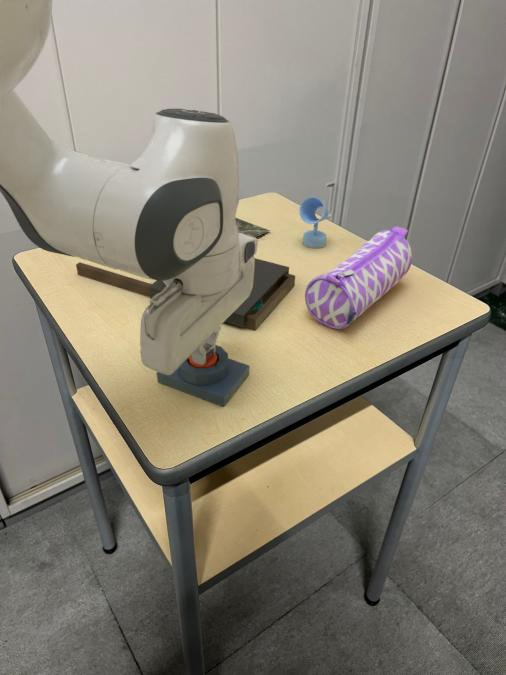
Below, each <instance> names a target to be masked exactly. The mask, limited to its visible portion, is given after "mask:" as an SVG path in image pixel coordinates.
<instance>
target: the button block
mask: <svg viewBox="0 0 506 675" xmlns="http://www.w3.org/2000/svg"><path fill="white" fill-rule="evenodd" d="M215 353H216V355H217V364H216V365H215V366H212V367H210V368H206V369H198V368H195V367H192V366H190V364H189V358H188V359H187V360H186V361H185V362H184V363H183V364H182V365H181V366H180V367H179V368H178V369H177V370H176V371H175V372H174V373H173V374H171V375H166V374H162V373H159V372H156V378H157V380H156V381H157V383H159V384H162V385H165V386H167V387H170V388H173V389H175V390H178V391H181V392H183V393H186V394H188V395H191V396H194V397H197V398H199V399H201V400H204V401H207V402H209V403H212V404H215V405H217V406H219V407H222V408H224V407H225V406H226V405H227V404H228V402H229V401H230V400H231V399H232V397H233V396H234V395H235V394H236V393H237V391H238V390H239V389H240V387H241V386H242V385H243V384H244V382H245V381H246V380H247V378H249V376H250V365H249V364H246V363H243V362H240V361H237V360H234V359H231V358H229V353H228V352H227V351H226V350H225V349H224V348H223V347H222V346H221V345H217V344H216V352H215Z"/></svg>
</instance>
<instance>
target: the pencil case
mask: <svg viewBox="0 0 506 675" xmlns="http://www.w3.org/2000/svg"><path fill="white" fill-rule="evenodd" d="M408 233H409V230H408V229H406V228H403V227H400V226H398V225H397V226H396V225H395V226H393V227H392V229H391V230H390V229H383V230H380V231H378V232H377V233H375V234H374V235H373V236H372V237H371V239H369V240H368V241H367V242H365V243H364V244H362V245H361V246H360V247H359V248H358V249H357V250H356V251H355V252H353V254H352V255H351V256H349V257H347V259H345V260H344V261H342V262H340V263H338V264H337V265H336V266H335V267H334V268H333V269H331V270H330V271H328V272H327V273H325V274H320V275H317V276H315V277H313V278H311V280H310V281H309V282H308V283H307V285H306V288H305V291H304V301H305V306H306V309H307V311H308V313H309V314H310V315H311V317H312V318H314V319H315V320H316V321H317V322H319V323H320V324H321V325H324V326H326V327H328V328H331V329H335V330H342V329H345V328H347V327H348V326H349V325H352V324H353V322H354V321H355V320H357V318H359V317H361V315H363V314H364V312H365V311H367V310H368V309H369V308H370V307H372V305H373V304H375V303H377V301H378V300H380V299H381V298H383V296H385V295H386V294H387V293H388V292H389V291H390V290H392V289H393V287H395V286H396V284H398V283H399V282H400V281H401V279H402V278H403V277H404V276H405V275H406V274H408V272H409V270H410V269H411V266H412V263H413V251H412V247H411V245H410V242H409V241H408V240H407V239H406V238H405V236H406V235H407V234H408Z"/></svg>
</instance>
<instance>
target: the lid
mask: <svg viewBox="0 0 506 675" xmlns="http://www.w3.org/2000/svg"><path fill="white" fill-rule="evenodd" d="M254 259H255V266H254V281H253V287H252V290H251V293H250V295H249V297H248V298H247V299H246V300H245V301H244V302H243V303H242V304H241V305H240V306H239V307H238V308H237V309H236V310H235V311H234V312H233V313H232V314H231V315H230V316H229V317H228V318H227V319H226V320H225V321H224V322H223V323H226V324H227V323H228V324H231V325H234V326H237V327H239V328H245V327H244V326H245V316H246V315H247V314H250V313H251V312H252V311H251V310H252V309H253V308H254V307H255V306H256V305H257V304H258V303H259V302H260V300H263V298H264V297H265V296H266V295H268V293H269V292H270V291H271V290H272V289H273V288H274V287H275V286H276V285H277V284H276V283H277V282H278V281H279V280H280V279H281V278H282V277H283V276H284V275H285V274H286V273H288V274H290V266H286V265H283V264H278V263H276V262H272V261H267V260H263V259H259V258H257V257H254ZM151 284H152V285H150V286H149V292H150V297H149V299H150V300H151V299H152V298H153V297H154V296H155V295H156V294H158V293H160V292H162V291H163V289H164V288H165V287H166V285H165V284H164V282H163V281H157V280H155V281H154V282H153V283H151Z"/></svg>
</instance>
